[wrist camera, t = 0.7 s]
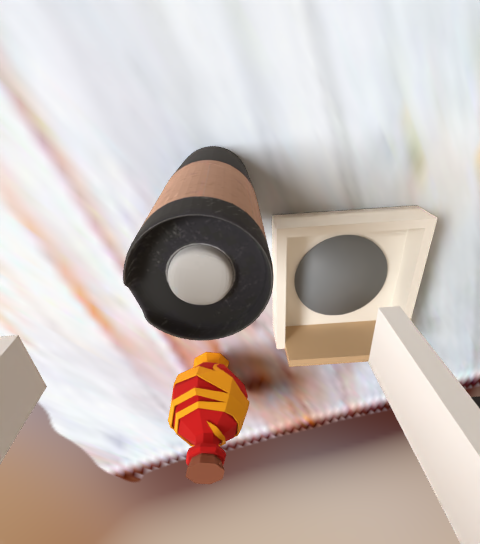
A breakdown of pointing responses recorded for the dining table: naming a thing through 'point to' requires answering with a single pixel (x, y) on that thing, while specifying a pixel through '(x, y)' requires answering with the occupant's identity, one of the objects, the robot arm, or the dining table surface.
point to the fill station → (344, 278)
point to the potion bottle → (207, 414)
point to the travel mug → (202, 251)
